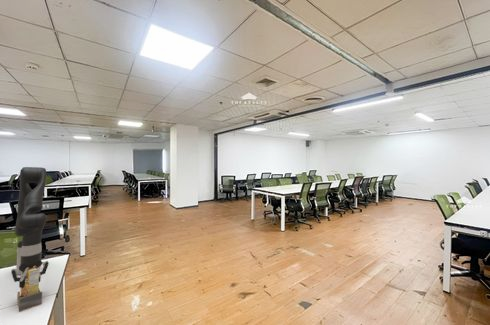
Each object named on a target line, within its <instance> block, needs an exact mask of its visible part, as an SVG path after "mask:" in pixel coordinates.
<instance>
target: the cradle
mask: <svg viewBox="0 0 490 325" xmlns="http://www.w3.org/2000/svg"><path fill="white" fill-rule="evenodd" d="M16 293H17V295H16V296H17V298H16V299H17V308H18V313H20V312H23V311H26V310H29V309H32V308H34V307H37V306H40V305H42V302H43V301H42V300H43V291H41V290H40V288H39V289H38V293H35V294H32V295H29V296H26V297H21V290H20V291H17V292H16Z"/></svg>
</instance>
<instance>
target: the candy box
mask: <svg viewBox="0 0 490 325" xmlns="http://www.w3.org/2000/svg"><path fill="white" fill-rule="evenodd" d="M40 272H41V271H40V267H35V268H33V267H32V268H29V269H27V273H26V276H25V277H24V279H23V281H24V283H23V288H22V289H21V288H20V296H21V297H26V296H29V295H32V294H35V293H38V289H39V290H40V287H39V286H40V282H39V273H40Z"/></svg>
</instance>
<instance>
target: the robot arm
mask: <svg viewBox="0 0 490 325" xmlns="http://www.w3.org/2000/svg"><path fill="white" fill-rule="evenodd" d="M47 174H48V173H47V169H46V168H45V167H39V166H38V167H36V166H31V167H30V166H24V167H22V168H21V169H20V172H19V193H18V202H17V217H16V223H15V226H14V227H15V228H14V234H15V236H17V237H22V238H21V240H20V241H18V242H17V248H16V250H17V252H16V268H13V269H11V270H10V271H11V275H12V278H13V281H14V283H17V282H18V284H19V285H18V287H19V289H20V290H21V289H22V288H23V283H24V281H23V279H24V277H25V276H26V273H27V269H29V268H32V267H33V268H35V267H39V268H40V267H41V266H43V267H42V270H41V271H40V273H39V283H40V282H41V278H42V277H41V276H42V275H44V274H45V275H46V273H47V269H48V266H49V261H48V260H46V261H42V251H43V249H42V248H43V246H42V236H43V235H42V234H43V229H44V228H45V225H46V223H47V220H48V217H47V214H45V213H41V211H42V210H43V199H44V198H43V197H44V192H45V189H46V188H45V187H46V182H47V181H46V180H47ZM30 183H31V184H34V183H37V185H36V186H35V187H34V188H33V189H32V188H31V186H30V185H29V184H30ZM39 212H40V213H39ZM18 276H20V277H18Z"/></svg>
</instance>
